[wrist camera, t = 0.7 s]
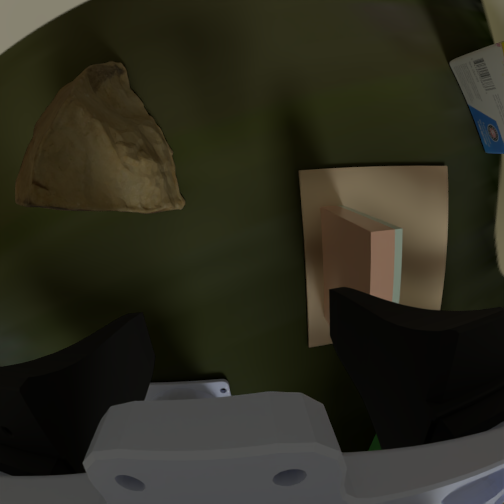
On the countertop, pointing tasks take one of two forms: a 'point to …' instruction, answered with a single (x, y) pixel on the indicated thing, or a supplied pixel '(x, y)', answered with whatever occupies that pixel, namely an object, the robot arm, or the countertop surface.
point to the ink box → (484, 92)
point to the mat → (389, 210)
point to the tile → (360, 254)
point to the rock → (98, 150)
